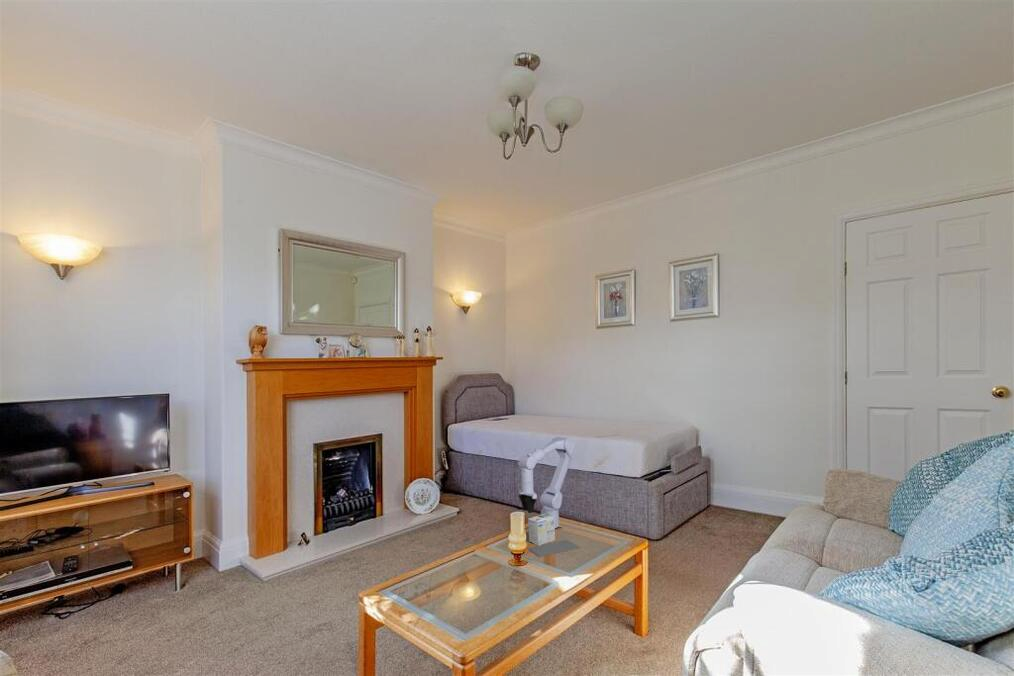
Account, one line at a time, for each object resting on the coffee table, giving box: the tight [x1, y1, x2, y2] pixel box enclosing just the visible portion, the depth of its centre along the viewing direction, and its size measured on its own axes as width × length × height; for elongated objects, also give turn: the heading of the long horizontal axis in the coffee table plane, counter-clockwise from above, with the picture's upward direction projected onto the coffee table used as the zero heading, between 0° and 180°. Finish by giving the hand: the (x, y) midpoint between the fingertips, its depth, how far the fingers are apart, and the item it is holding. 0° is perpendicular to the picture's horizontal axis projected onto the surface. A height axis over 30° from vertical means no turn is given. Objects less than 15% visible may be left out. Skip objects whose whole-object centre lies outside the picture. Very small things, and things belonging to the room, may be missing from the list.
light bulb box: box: [527, 514, 556, 546], centre depth 216 cm, size 11×7×11 cm, turn 130°
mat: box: [527, 539, 581, 558], centre depth 206 cm, size 11×20×1 cm, turn 115°
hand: (527, 511), depth 226 cm, fingers open, 4 cm apart
